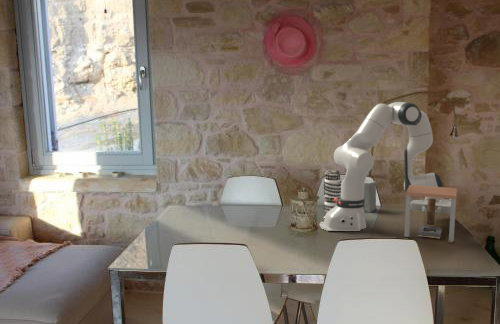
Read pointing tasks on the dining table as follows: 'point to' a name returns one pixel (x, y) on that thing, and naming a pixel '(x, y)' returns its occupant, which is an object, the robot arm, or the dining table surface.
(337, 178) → the decorative candle
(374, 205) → the skincare box
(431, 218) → the peg
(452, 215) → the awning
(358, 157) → the robot arm
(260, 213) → the dining table surface
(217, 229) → the dining table surface
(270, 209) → the dining table surface
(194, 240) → the dining table surface
